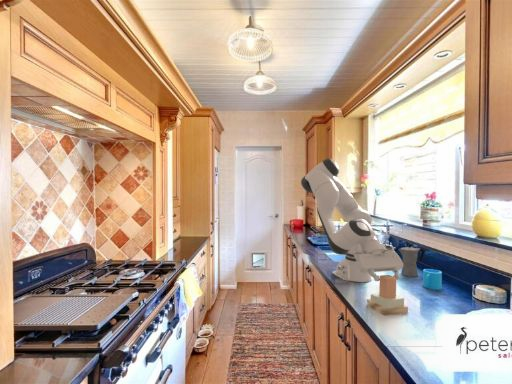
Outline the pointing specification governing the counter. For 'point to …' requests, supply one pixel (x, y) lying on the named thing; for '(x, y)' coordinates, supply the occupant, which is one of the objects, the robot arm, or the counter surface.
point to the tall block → (387, 286)
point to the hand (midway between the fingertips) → (387, 279)
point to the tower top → (387, 301)
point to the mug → (432, 279)
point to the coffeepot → (410, 260)
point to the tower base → (387, 311)
